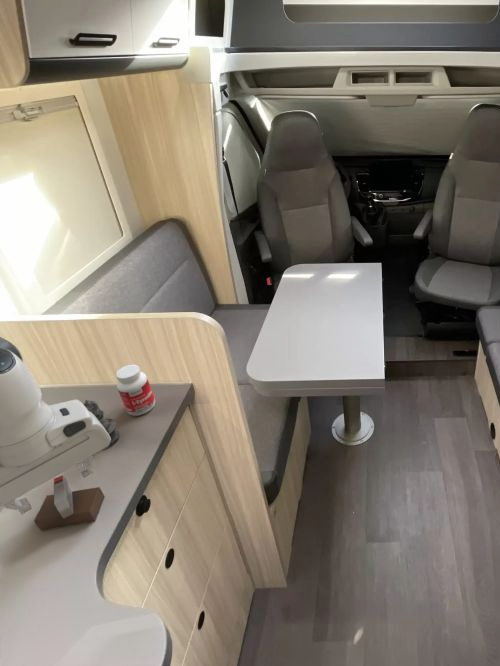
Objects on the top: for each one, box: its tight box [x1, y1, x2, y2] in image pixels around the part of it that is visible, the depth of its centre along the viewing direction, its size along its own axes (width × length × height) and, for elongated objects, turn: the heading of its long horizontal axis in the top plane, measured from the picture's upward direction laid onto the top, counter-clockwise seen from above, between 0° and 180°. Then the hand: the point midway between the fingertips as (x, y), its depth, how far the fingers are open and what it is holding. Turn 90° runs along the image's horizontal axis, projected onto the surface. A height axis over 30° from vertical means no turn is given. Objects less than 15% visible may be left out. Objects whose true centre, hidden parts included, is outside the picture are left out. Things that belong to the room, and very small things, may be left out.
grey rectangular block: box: [53, 474, 73, 518], centre depth 79 cm, size 6×2×4 cm, turn 34°
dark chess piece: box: [82, 399, 120, 451], centre depth 93 cm, size 6×6×12 cm
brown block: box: [33, 486, 106, 532], centre depth 81 cm, size 9×5×3 cm, turn 101°
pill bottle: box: [115, 364, 156, 417], centre depth 101 cm, size 6×6×11 cm
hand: (57, 490), depth 78 cm, fingers open, 8 cm apart
